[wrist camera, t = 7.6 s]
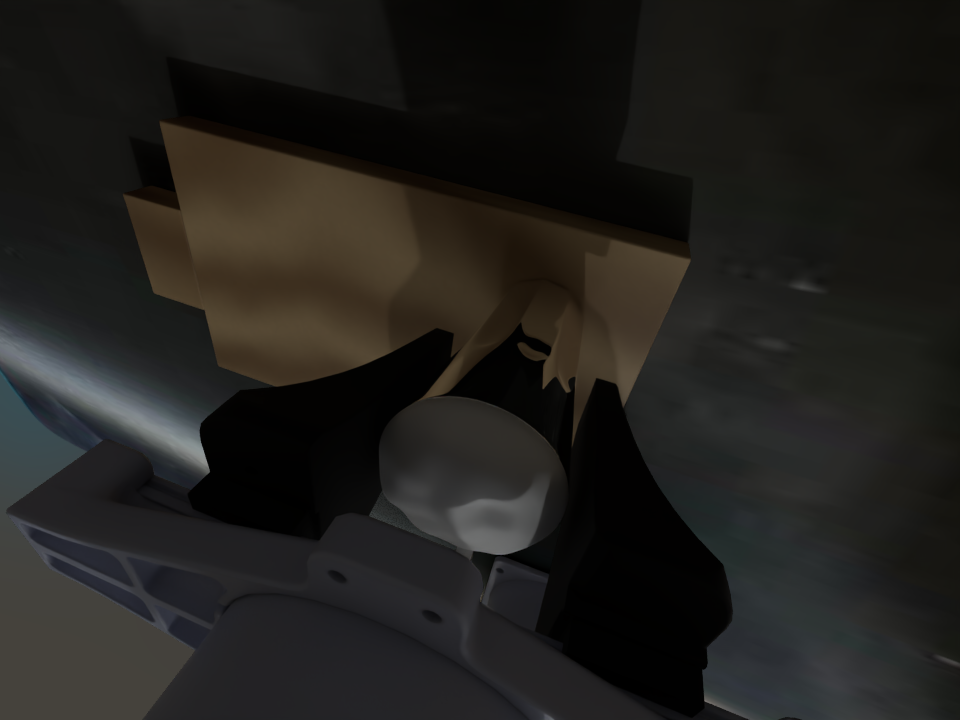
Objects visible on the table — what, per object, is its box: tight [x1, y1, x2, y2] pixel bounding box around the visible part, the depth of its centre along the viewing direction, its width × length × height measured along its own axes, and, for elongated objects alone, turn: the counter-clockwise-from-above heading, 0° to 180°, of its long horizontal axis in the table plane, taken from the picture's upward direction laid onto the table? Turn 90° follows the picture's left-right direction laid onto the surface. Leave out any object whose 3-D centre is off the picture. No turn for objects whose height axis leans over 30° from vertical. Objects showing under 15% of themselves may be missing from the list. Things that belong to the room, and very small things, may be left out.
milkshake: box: [379, 279, 584, 561], centre depth 13 cm, size 5×5×10 cm
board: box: [123, 116, 691, 446], centre depth 20 cm, size 12×23×2 cm, turn 81°
